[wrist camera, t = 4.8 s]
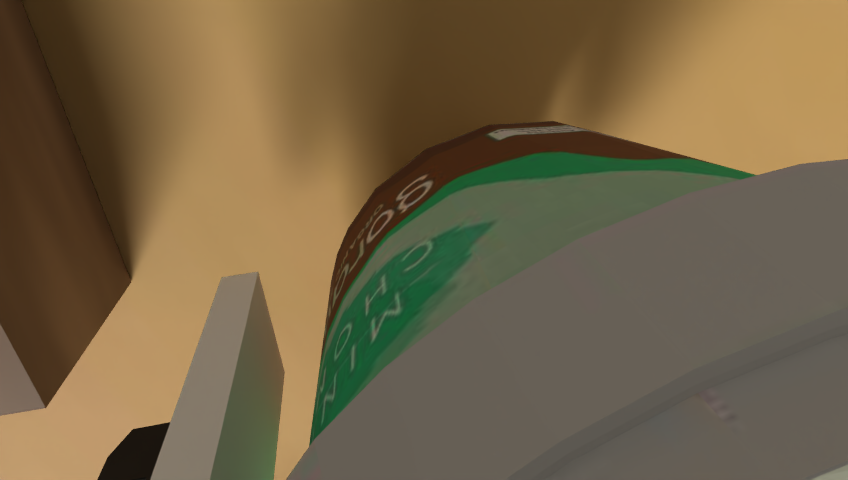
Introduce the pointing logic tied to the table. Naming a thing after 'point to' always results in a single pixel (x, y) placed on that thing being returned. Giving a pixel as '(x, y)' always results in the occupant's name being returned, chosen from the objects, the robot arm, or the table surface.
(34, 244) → the walnut plinth
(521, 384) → the food container
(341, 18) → the table surface
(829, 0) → the table surface
